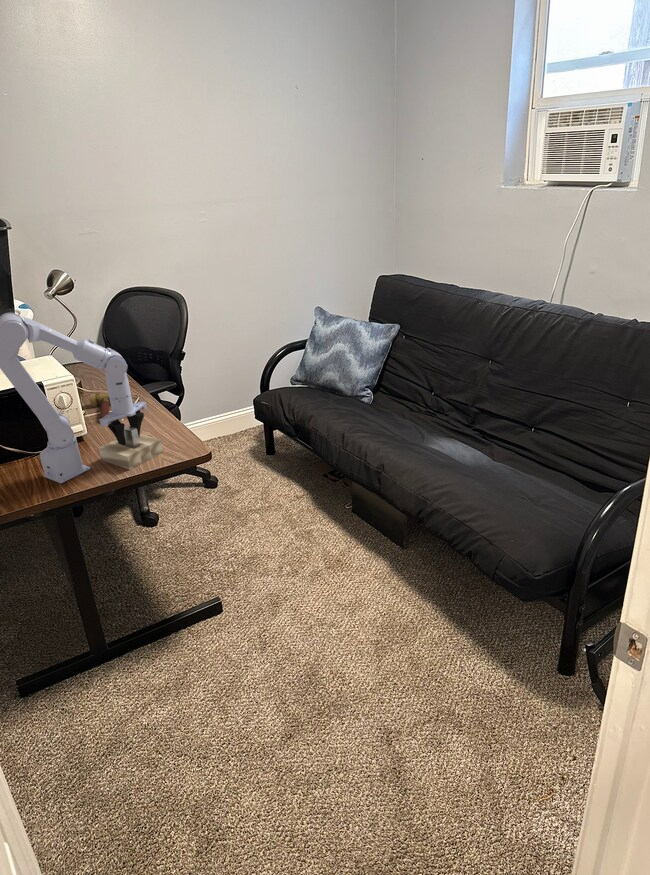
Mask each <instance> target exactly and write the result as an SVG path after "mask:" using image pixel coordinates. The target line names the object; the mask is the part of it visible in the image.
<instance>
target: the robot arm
mask: <svg viewBox="0 0 650 875" xmlns="http://www.w3.org/2000/svg"><path fill="white" fill-rule="evenodd" d="M27 340H28V343H34V342H40V341H41V342H44V343H47V344H50V345H53V346H55V347H57V348H60V349H63V350H64V351H68V352H69V353H72V355H73V359H74V360H76V361H79V362H81V363H84V364H86V365H88V366H91V367H93V368H95V369H98V370H99V369H100V370H104V376H105V384H106V388H107V393H108V394H109V399H110V403H111V404H110V408H111V411H109V414H107V415H106V416H105V417H103V418H101V419H100V418H99V419H98V420H99V424H100V427H103V428H106V427H107V428H109V430H110V431H111V433H112V434H113V435H114V437H115V438H116V439H117V441H118V443H119V444H121V445H125V444H126V441H125V436H124V425H126V424H125V423H123V422H121V420H122V419H124V418H126V419H127V421H128V423H129V426H130V427H134V428H137V431H138V436H139V438H140V434H141V426H142V422H143V420H144V418H145V414H144V412H142V410H147V409H148V408H147V407H148V406H147V403H146V402H145V401H138V402H135V403H133V397H132V393H131V388H130V383H129V382H130V381H129V378H128V376H127V371H128V367H129V366H128V364H127V361H126V360H125V358H123V356H122V355H121V354H120V353H119V352H117V351H116V350H115V349H112V348H110V347H107V348H106V347H104V346H101V345H99V344H97V343H95V340H93V339H92V338H88V339H85V338H81V339H78V340H77V339H73V338H72V337H69V336H68V335H65V334H64V333H61V332H59V331H57V330H55V329H53V328H51V327H49V326H47V325H45V324H43V323H41V322H38V321H36V320H34V319H31V318H29V317H25V316H23V317H22V316H21V315H19V314H17V313H15V312H5V313H3V314H1V315H0V371H2V373H3V374H4V376H5V377H6V378H7V380H8V381H9V382H10V383H11V385H12V387H13V388H14V389H15V390H16V391H17V393H18V394H19V395H20V397H21V398H22V399H23V400H24V403H26V404H27V406H28V407H29V408H30V410H31V411H32V412H33V414H35V416H36V417H37V419H38V420H39V422H40V424H41V425H42V427H43V428H44V430H45V432H46V434H47V438H48V441H47V443H46V444H47V446H46V448H44V449H43V450H41V451H40V452H39V459H40V462H41V466H42V471H43V473H44V474H43V477H44V478H46V479H49V480H51V481H54V482H55V483H59V484H63V483H65V482H67V481H69V480H71V479H73V478H75V477H77V476H79V475H82V474H84V472H85V473H86V472H88V471H89V470H91V466H88V465H85V464H83V460H82V457H81V453H80V448H79V444H78V440H77V437H76V436H75V432H74V430H73V428H72V426H71V422H70V420H69V419H68V417H67V416H65V415H64V414H62V413H60V412H59V411H58V410H57V408H55V406H54V405H52V403H51V402H50V401H49V399H48V398H47V396H46V394H45V393H44V392H43V391H42V389H41V388H40V387H39V385H38V384H37V382H36V381H35V380H34V379H33V377H32V376H31V375H30V373H29V371H27V369H26V367H25V366H24V365H23V364H22V363H21V361H20V359H19V358H18V354H19V352H20V348H21V347H22V346H23V345H24V344H25V342H26V341H27ZM116 439H115V440H116Z"/></svg>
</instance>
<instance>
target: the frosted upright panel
mask: <svg viewBox="0 0 650 875" xmlns="http://www.w3.org/2000/svg"><path fill="white" fill-rule="evenodd" d="M124 436H125V441H126V444H125V445H123V446H126V447H129V448H133V449H136V448H138V447H140V441H139V436H138V431H137V428H134V427H130V425H126V424H125V425H124Z"/></svg>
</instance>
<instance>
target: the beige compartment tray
mask: <svg viewBox="0 0 650 875" xmlns="http://www.w3.org/2000/svg"><path fill="white" fill-rule="evenodd" d="M139 441H140V447H138V448H136V449H133V448H129V447H126V446H123V445H121V444H119V443H118V441H117V439H114V440H113V441H109V442H108V443H106V444H103V445H101V446H99V447H98V449H99V450H98V451H99V454H100V458H101V461H102V462H106V463H109V464H111V465H112V464H113V465H115V466H117V467H120V468H124V469H127V470H129V471H131V470H132V469H134V468H137V467H138V466H140V465H142V464H144V463H146V462H148V461H150V460H151V459H153V458H155V457H157V456H159V455H160V454H161V455H162V454H163V453H164V449H163V445H162V439H159V438H157V437H156V438H155V437H153V436H149V435H146V434H142V433H140V438H139Z"/></svg>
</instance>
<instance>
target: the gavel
mask: <svg viewBox="0 0 650 875" xmlns="http://www.w3.org/2000/svg"><path fill="white" fill-rule="evenodd" d="M89 402H90V406H91V408H97V407H99V406H100V414H99V419H101V418H103V417H105V416H106V415H107V414H109V413H110V405H111V403H110V399H109V394H108V392H104V393H99V394H97V393H91V394H89Z"/></svg>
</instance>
